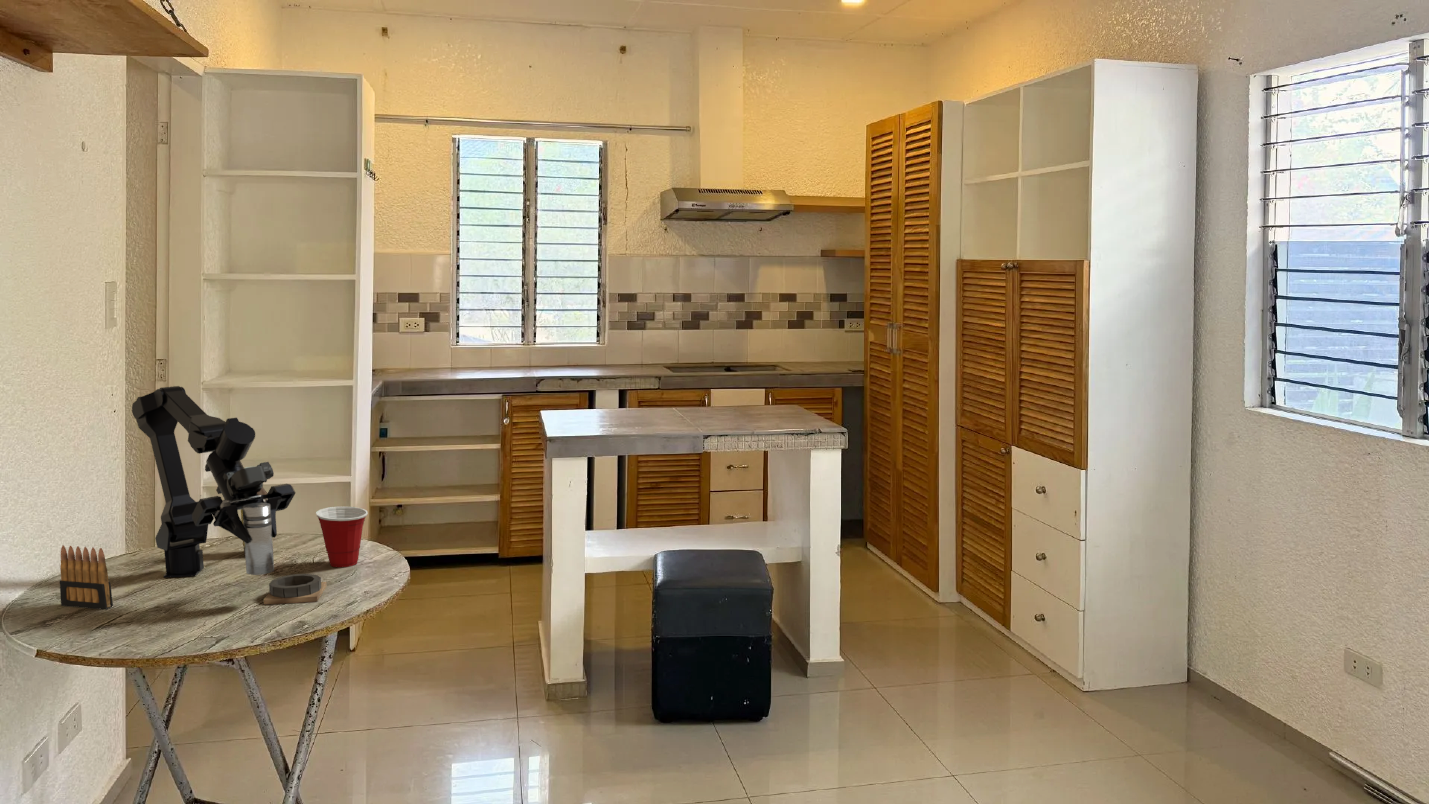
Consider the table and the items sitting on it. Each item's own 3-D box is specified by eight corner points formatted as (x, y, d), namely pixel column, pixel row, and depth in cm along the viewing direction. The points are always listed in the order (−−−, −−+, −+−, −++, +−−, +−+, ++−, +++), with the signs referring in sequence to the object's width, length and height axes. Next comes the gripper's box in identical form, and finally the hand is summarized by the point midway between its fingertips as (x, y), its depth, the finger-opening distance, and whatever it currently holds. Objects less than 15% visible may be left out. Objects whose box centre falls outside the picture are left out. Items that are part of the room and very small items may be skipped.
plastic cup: (354, 572, 236) (351, 517, 235) (308, 569, 238) (305, 515, 237) (379, 558, 247) (377, 506, 245) (335, 556, 249) (332, 504, 247)
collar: (263, 604, 215) (262, 589, 215) (275, 589, 225) (274, 574, 224) (317, 601, 217) (316, 586, 216) (326, 586, 226) (325, 572, 226)
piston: (244, 575, 211) (240, 509, 209) (248, 568, 216) (244, 503, 214) (272, 573, 212) (268, 507, 210) (275, 566, 217) (271, 502, 215)
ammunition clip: (60, 605, 215) (55, 546, 214) (68, 602, 217) (62, 543, 215) (106, 609, 213) (100, 549, 211) (113, 606, 214) (108, 546, 213)
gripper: (194, 457, 206) (227, 524, 201) (288, 443, 220) (320, 506, 215) (178, 492, 212) (209, 558, 207) (269, 477, 227) (301, 538, 221)
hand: (262, 539), depth 212 cm, fingers closed on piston, 5 cm apart
